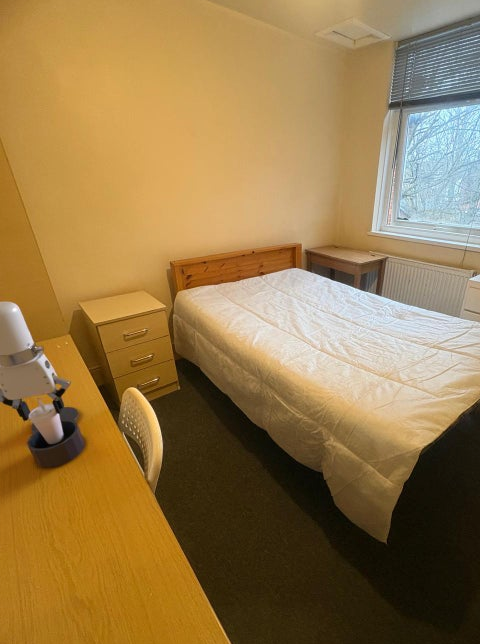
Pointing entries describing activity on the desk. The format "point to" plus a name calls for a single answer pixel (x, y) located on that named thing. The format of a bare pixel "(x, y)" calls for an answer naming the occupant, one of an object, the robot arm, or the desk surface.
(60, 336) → the desk surface
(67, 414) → the lid
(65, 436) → the pot
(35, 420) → the smoothie
